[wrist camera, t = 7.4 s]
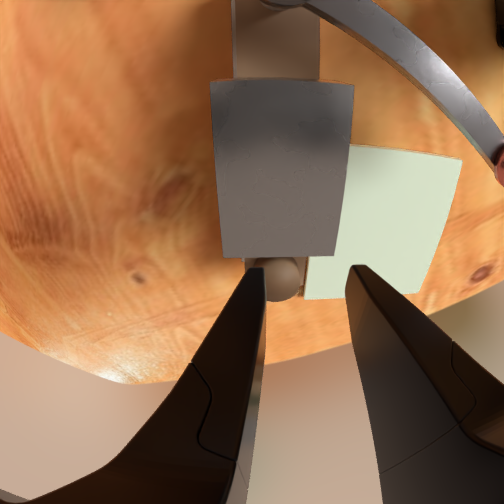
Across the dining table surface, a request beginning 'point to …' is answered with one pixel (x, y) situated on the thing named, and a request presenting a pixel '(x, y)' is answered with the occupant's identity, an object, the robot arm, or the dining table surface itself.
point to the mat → (387, 219)
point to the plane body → (275, 65)
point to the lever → (413, 68)
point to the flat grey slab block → (280, 164)
